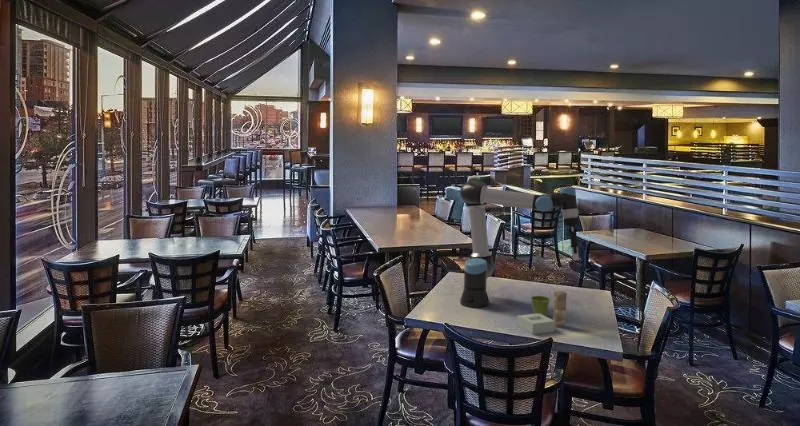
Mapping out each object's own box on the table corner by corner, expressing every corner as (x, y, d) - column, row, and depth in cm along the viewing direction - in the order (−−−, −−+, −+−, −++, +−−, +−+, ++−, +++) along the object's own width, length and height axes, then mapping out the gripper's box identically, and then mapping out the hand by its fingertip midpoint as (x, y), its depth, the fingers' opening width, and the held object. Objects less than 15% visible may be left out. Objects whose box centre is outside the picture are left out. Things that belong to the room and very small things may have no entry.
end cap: (516, 326, 249) (517, 315, 248) (538, 323, 253) (538, 313, 253) (532, 334, 238) (532, 323, 237) (554, 331, 242) (555, 320, 242)
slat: (552, 325, 251) (554, 292, 249) (561, 324, 252) (563, 291, 250) (555, 327, 248) (557, 293, 246) (564, 326, 250) (566, 292, 248)
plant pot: (546, 319, 259) (547, 302, 258) (527, 316, 264) (528, 299, 263) (551, 314, 267) (552, 297, 266) (533, 311, 272) (534, 294, 271)
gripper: (579, 216, 258) (584, 260, 257) (577, 217, 282) (582, 257, 281) (563, 218, 260) (568, 261, 259) (562, 218, 284) (567, 258, 283)
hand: (575, 259), depth 270 cm, fingers open, 13 cm apart
